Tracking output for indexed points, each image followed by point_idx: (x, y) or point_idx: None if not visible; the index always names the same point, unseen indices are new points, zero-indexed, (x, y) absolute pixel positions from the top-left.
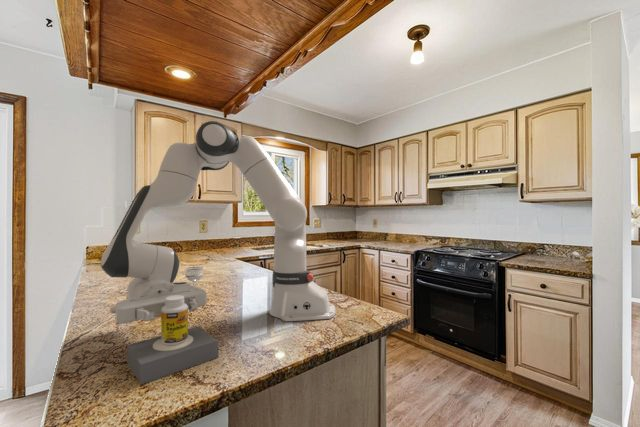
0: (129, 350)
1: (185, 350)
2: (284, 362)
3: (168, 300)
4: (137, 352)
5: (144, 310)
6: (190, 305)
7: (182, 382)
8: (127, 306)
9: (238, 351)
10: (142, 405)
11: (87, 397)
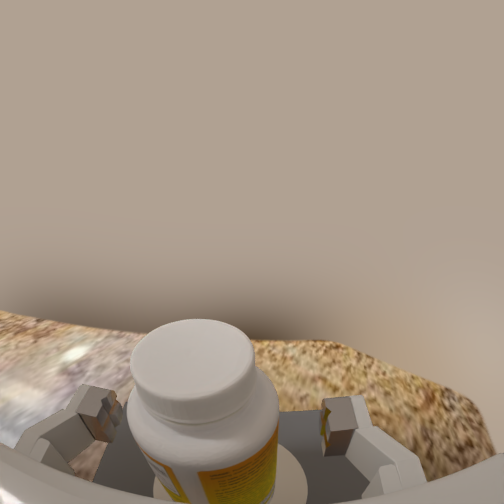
0: None
1: None
2: (98, 336)
3: (246, 338)
4: (360, 485)
5: (376, 438)
6: (110, 402)
7: None
8: (488, 472)
9: None
10: (344, 374)
11: (442, 440)
